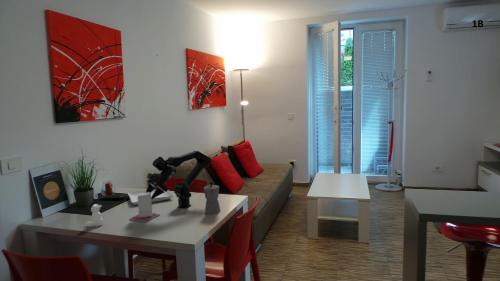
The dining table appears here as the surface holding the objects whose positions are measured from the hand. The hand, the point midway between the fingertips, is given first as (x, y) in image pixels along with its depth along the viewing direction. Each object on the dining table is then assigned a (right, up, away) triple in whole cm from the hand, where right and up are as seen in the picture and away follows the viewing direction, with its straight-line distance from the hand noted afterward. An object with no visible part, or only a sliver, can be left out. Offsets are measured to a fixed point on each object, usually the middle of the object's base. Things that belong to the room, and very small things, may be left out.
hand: (148, 197), depth 203 cm
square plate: (-10, -8, +40) cm, 42 cm away
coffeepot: (+37, -10, +6) cm, 38 cm away
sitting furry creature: (-26, -14, -9) cm, 31 cm away
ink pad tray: (-2, -12, -1) cm, 12 cm away
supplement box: (-1, -11, -1) cm, 11 cm away
